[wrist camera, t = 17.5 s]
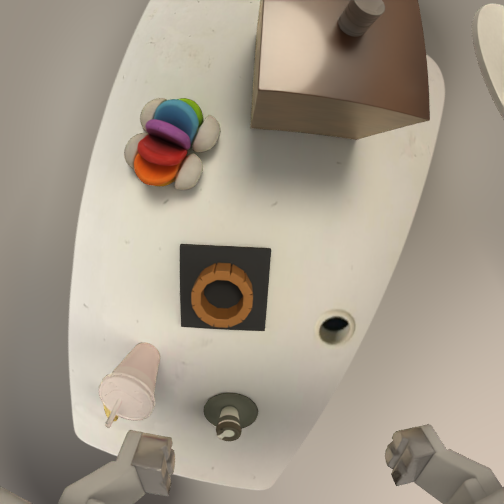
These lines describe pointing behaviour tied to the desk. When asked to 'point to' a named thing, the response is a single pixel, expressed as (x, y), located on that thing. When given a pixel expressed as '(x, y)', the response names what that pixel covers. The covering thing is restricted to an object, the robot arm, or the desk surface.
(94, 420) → the desk surface
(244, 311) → the grooved wooden ring
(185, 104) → the rainbow disc roller toy
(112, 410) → the smoothie
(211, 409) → the coffee cup
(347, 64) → the tape stand
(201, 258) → the mat
